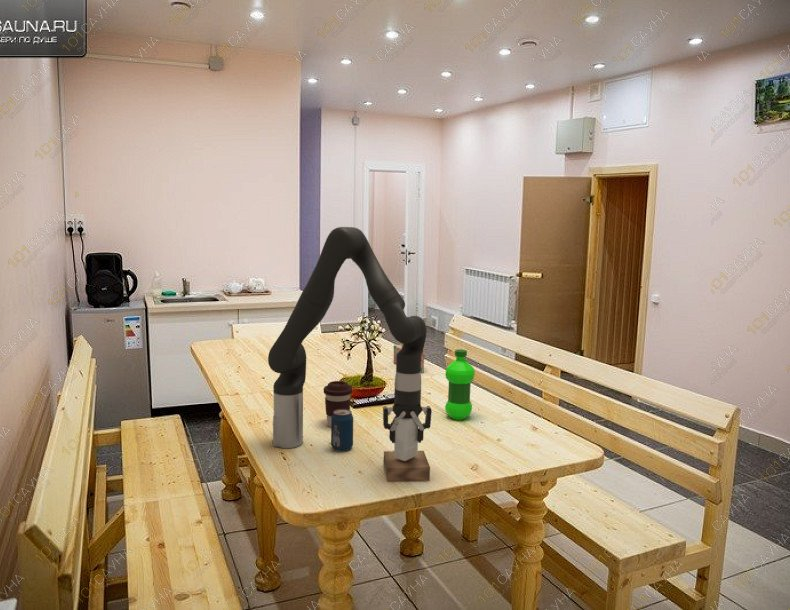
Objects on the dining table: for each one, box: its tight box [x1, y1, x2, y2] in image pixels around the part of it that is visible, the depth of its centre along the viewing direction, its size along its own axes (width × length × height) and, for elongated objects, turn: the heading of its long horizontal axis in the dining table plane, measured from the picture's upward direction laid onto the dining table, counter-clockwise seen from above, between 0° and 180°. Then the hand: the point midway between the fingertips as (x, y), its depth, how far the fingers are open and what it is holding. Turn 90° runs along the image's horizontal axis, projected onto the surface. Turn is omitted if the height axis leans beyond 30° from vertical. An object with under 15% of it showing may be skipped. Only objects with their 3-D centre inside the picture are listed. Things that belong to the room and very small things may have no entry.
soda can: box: [330, 409, 354, 453], centre depth 199 cm, size 7×7×12 cm
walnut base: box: [382, 450, 431, 483], centre depth 183 cm, size 12×12×4 cm
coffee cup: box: [323, 380, 353, 428], centre depth 219 cm, size 10×10×15 cm
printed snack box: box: [393, 343, 426, 375], centre depth 297 cm, size 21×6×12 cm, turn 24°
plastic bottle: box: [444, 349, 476, 421], centre depth 229 cm, size 10×10×25 cm
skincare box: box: [393, 418, 419, 461], centre depth 181 cm, size 6×4×12 cm
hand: (406, 441), depth 181 cm, fingers closed on skincare box, 7 cm apart
